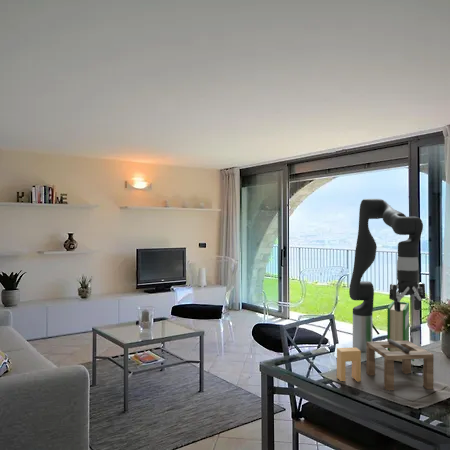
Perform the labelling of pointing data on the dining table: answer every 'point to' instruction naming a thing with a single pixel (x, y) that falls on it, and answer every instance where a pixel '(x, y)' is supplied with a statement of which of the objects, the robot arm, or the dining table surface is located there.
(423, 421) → the dining table surface
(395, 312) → the hardback book
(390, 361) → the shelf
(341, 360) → the wooden arch block
